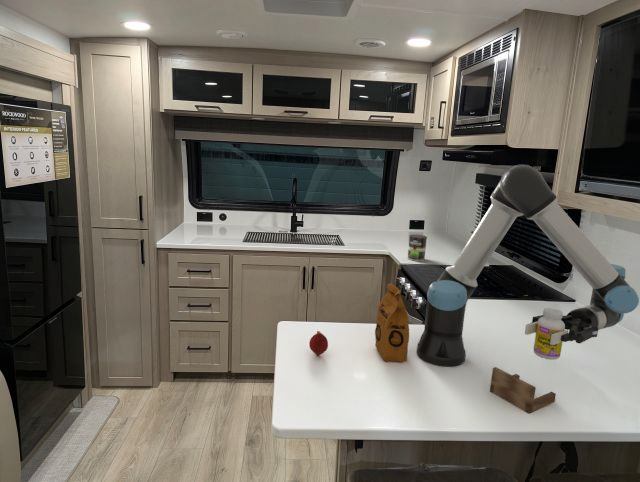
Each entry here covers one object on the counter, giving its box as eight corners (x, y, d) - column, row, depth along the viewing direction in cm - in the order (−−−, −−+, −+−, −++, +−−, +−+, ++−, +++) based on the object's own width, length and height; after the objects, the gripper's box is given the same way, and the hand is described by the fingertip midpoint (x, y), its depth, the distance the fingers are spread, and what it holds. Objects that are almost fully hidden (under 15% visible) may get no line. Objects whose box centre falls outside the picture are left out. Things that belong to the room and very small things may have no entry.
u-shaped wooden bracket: (489, 391, 124) (492, 368, 122) (514, 381, 130) (518, 359, 128) (529, 413, 114) (533, 388, 113) (554, 402, 120) (558, 378, 118)
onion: (327, 351, 144) (328, 327, 142) (327, 359, 138) (329, 335, 136) (308, 350, 143) (309, 327, 142) (308, 359, 138) (310, 334, 136)
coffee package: (378, 363, 137) (383, 294, 133) (372, 345, 149) (376, 282, 145) (410, 364, 138) (417, 295, 133) (401, 346, 150) (407, 282, 145)
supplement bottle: (530, 355, 124) (536, 311, 121) (536, 347, 129) (542, 305, 126) (557, 363, 120) (564, 317, 117) (562, 354, 125) (569, 310, 122)
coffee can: (422, 262, 265) (424, 238, 262) (405, 259, 269) (407, 236, 266) (426, 258, 274) (428, 235, 271) (410, 256, 278) (412, 233, 275)
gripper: (619, 345, 125) (573, 363, 113) (551, 320, 141) (505, 334, 129) (624, 319, 123) (578, 335, 111) (555, 298, 140) (508, 309, 127)
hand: (539, 334), depth 120 cm, fingers closed on supplement bottle, 7 cm apart
